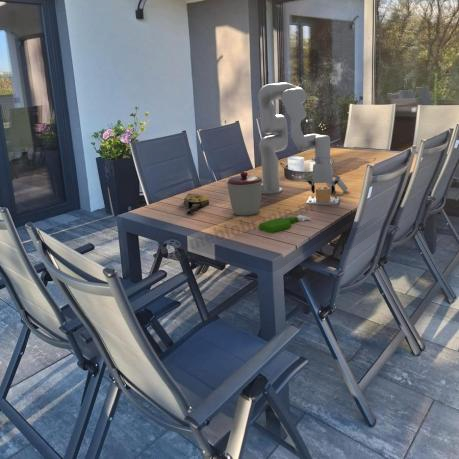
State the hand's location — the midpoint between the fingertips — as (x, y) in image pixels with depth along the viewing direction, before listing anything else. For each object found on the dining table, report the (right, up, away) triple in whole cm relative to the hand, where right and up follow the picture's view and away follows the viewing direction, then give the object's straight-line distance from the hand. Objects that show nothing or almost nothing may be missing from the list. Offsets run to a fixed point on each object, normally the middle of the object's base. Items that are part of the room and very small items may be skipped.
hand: (323, 192), depth 252 cm
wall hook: (+11, +2, +18) cm, 21 cm away
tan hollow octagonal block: (0, -3, +1) cm, 4 cm away
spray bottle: (-23, -17, -30) cm, 42 cm away
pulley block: (-67, -7, +9) cm, 68 cm away
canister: (-40, -11, -8) cm, 42 cm away
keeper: (0, -4, +1) cm, 4 cm away
